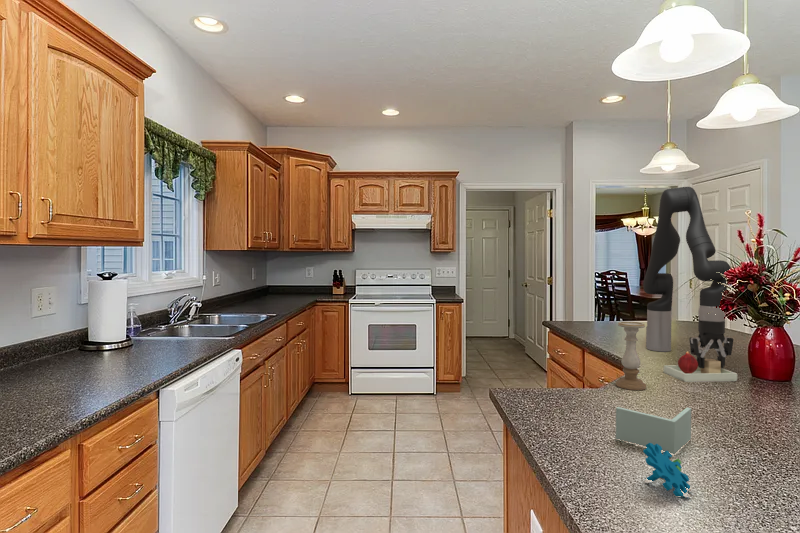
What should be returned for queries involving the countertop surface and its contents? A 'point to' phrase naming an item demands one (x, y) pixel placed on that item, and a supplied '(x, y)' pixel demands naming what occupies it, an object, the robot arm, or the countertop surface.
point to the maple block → (711, 366)
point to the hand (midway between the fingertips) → (710, 367)
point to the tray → (699, 375)
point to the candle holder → (631, 358)
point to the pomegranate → (687, 363)
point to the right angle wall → (654, 429)
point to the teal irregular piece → (666, 469)
